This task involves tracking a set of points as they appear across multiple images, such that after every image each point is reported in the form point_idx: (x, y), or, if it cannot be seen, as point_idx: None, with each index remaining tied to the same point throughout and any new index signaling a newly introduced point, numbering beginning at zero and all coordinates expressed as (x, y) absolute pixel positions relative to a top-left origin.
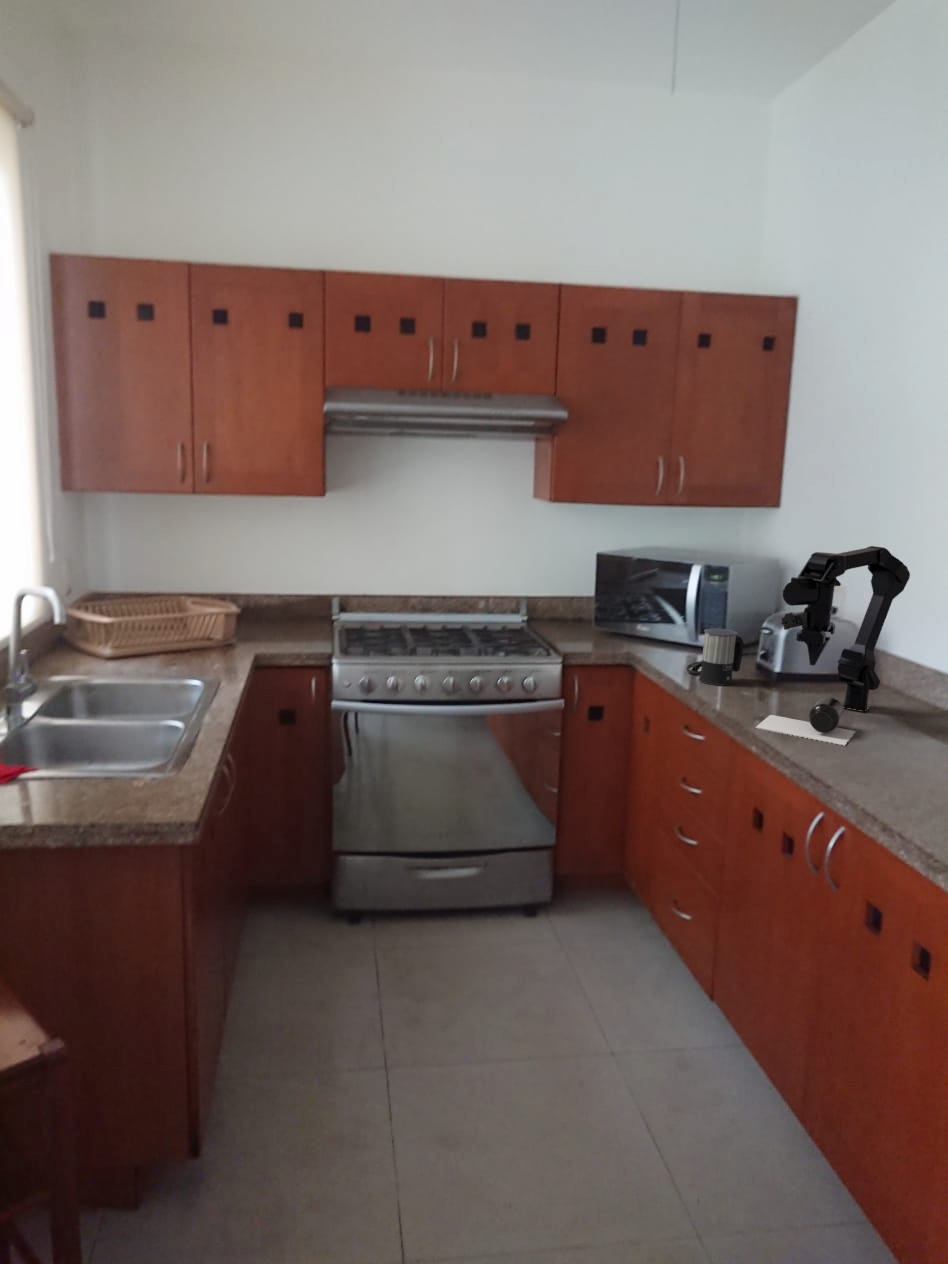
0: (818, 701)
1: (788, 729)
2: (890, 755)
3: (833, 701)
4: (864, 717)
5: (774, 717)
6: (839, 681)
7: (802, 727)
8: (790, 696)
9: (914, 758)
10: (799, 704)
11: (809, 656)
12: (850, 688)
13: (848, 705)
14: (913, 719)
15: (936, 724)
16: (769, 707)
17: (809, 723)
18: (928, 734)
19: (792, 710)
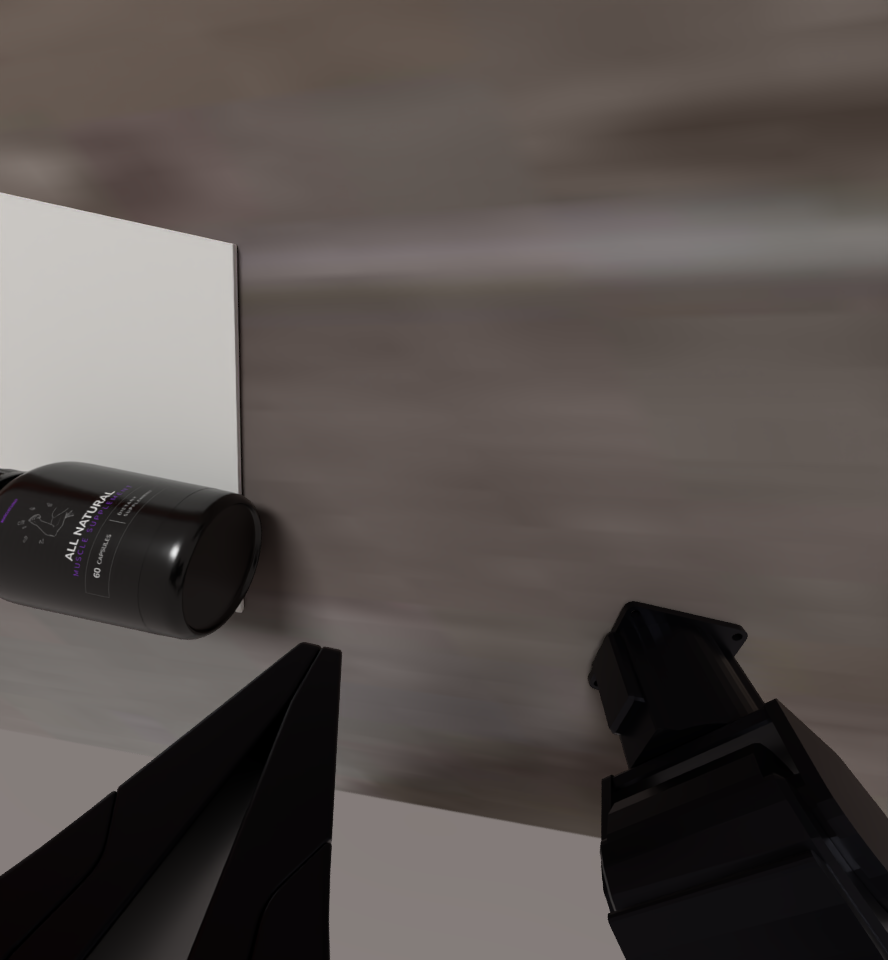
0: (111, 541)
1: (23, 357)
2: (59, 665)
3: (102, 617)
4: (507, 663)
5: (188, 273)
6: (776, 699)
7: (116, 422)
8: (843, 360)
9: (90, 711)
10: (627, 414)
11: (193, 732)
12: (650, 720)
13: (610, 641)
14: (570, 788)
15: (537, 825)
16: (449, 225)
17: (214, 455)
18: (390, 785)
19: (455, 374)
